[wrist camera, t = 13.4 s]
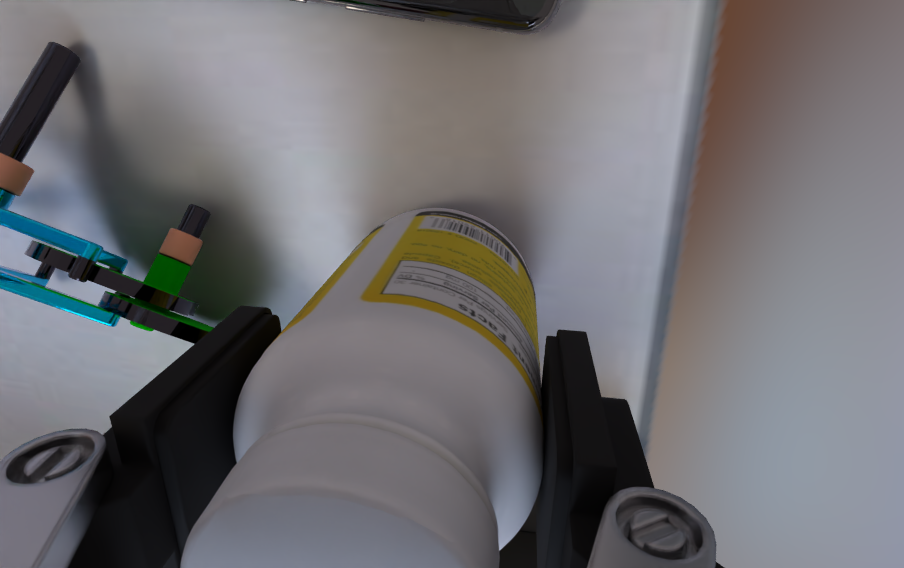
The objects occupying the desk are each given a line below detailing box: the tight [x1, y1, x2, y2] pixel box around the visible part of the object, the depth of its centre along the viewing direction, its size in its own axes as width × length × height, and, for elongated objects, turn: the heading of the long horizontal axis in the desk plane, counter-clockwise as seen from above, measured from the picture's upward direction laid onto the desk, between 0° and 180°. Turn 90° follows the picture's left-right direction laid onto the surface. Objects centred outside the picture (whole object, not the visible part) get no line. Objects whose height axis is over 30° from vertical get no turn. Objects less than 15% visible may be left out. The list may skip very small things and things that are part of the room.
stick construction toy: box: [0, 42, 213, 344], centre depth 15 cm, size 12×7×8 cm
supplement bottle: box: [181, 208, 544, 568], centre depth 11 cm, size 5×5×10 cm
